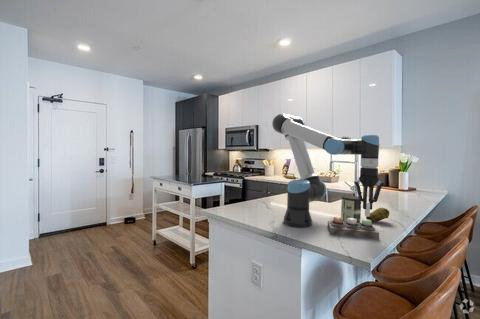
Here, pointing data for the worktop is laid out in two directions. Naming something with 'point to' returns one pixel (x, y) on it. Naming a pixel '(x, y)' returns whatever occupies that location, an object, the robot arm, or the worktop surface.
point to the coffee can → (350, 208)
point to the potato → (378, 214)
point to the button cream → (351, 220)
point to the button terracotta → (337, 219)
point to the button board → (353, 230)
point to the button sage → (366, 222)
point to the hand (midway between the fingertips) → (367, 215)
